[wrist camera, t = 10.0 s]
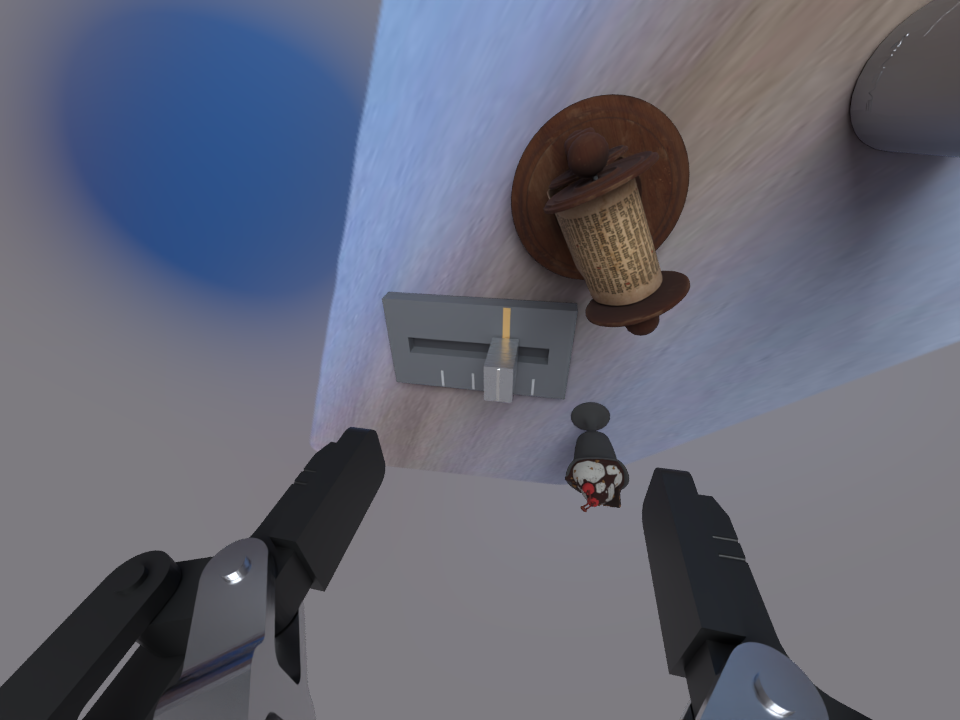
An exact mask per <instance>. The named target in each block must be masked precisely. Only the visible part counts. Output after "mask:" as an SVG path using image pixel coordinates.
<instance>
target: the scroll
mask: <svg viewBox="0 0 960 720" xmlns="http://www.w3.org/2000/svg"><path fill="white" fill-rule="evenodd" d="M688 186H689V162H688V155H687V151H686V148H685V145H684V142H683V140H682V137H681V135H680V133H679V132H678V130H677V128H676V127H675V125H674V124H673V123H672V121H671V120H670V119H669V118H668V117H667V116H666V115H665V114H664V113H663V112H662V111H660V110H659V109H658V108H656V107H655V106H653V105H652V104H650V103H648V102H646V101H644V100H641V99H638V98H635V97H631V96H626V95H614V94H612V95H601V96H595V97H591V98H587V99H584V100H581V101H579V102H577V103H574V104H572V105H570V106H568V107H567V108H565V109H563V110H562V111H560V112H559V113H557V114H556V115H555V116H553V117H552V118H551V119H550V120H548V121H547V122H546V123H545V124H544V125H543V126H542V127H541V128H540V130H539V131H538V132H537V133H536V134H535V135H534V137H533V138H532V140H531V141H530V142H529V144H528V146H527V147H526V149H525V151H524V152H523V155H522V157H521V159H520V161H519V164H518V166H517V169H516V172H515V176H514V180H513V186H512V194H511V207H512V216H513V221H514V225H515V228H516V231H517V233H518V236H519V238H520V240H521V242H522V244H523V245H524V247H525V248H526V250H527V251H528V252H529V254H530V255H531V256H532V257H533V258H534V259H535V260H536V261H537V262H538V263H540V264H541V265H542V266H544V267H545V268H547V269H548V270H550V271H552V272H554V273H556V274H558V275H561V276H564V277H568V278H572V279H580V280H585V281H586V284H587V286H588V289H589V291H590V294H591V296H592V298H593V299H592V300H591V301H590V303H589V304H588V306H587V308H586V317H587V319H588V320H589V321H590V322H591V323H593V324H595V325H599V326H605V327H622V326H625V327H626V328H627V330H628V331H629V332H631V333H633V334H634V335H640V336H641V335H647V334H649V333H651V332H653V331H654V330H655V329H656V328H657V326H658V323H659V315H661V314H663V313H665V312H667V311H668V310H670V309H671V308H673V307H674V306H675V305H677V304H678V303H679V302H680V301H681V300H682V299H683V298H684V297H685V296H686V295H687V293H688V291H689V289H690V281H689V279H688V277H687V276H686V275H684V274H682V273H679V272H675V271H661V270H660V266H659V262H658V259H657V255H656V252H655V251H656V250H657V249H658V248H659V247H660V246H661V244H662V243H663V242H664V241H665V240H666V238H667V237H668V236H669V234H670V233H671V231H672V230H673V228H674V226H675V225H676V223H677V221H678V219H679V217H680V215H681V212H682V210H683V207H684V204H685V201H686V197H687V192H688Z"/></svg>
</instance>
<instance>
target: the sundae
mask: <svg viewBox="0 0 960 720" xmlns="http://www.w3.org/2000/svg"><path fill="white" fill-rule="evenodd" d="M571 419H572V422H573V423H574V425H575V426H577V427H578V428H580V429H582V430H586V431H587V432H585V433H583V434H581V435H580V436H579V437H578V439H577V442H576V446H575V453H574V460H573V461H572V462H571V464H570V465H569V467H568V469H567V472H566V477H565V480H566V481H567V483H568V484H569V485H570V486H571V487H573V488H574V489H575V490H577V491H579V492H580V493H582V494H583V496H584V497H585V499H586V500H587V502H588V503H587V504H586V505H584V506H581V509H582V510H583V511H584V512H586V510H587V509H588V508H590V507H591V506H592V507H596V506H600V505H603V506H610V507H617V508H620V507H621V502H620V500H621V499H620V492H621V490H622V489H624V488H625V487H626V486H627V485H628V482H629V474H628V472H627V469H626V467H625V466H624V465H623V463H622V462H620V461H619V460H617V458H616V455H615V452H614V449H613V447H612V445H611V443H610V440H609V438H608V437H607V436H606V435H605V434H603V433H601V432H598V431H596V430H599V429H602V428H603V427H605V426H606V425H607V423H608V422H609V420H610V413H609V411H608V410H607V409H606V408H605V407H604V406H602V405H601V404H598V403H584V404H581V405H579V406H577V407H576V408H575V409H574V410H573V411H572V414H571ZM588 504H589V505H590V506H589V507H588V508H586V509H585V508H584V507H585V506H587V505H588Z"/></svg>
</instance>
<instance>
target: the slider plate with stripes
mask: <svg viewBox="0 0 960 720" xmlns="http://www.w3.org/2000/svg"><path fill="white" fill-rule="evenodd" d="M382 301H383V307H384V313H385V318H386V324H387V330H388V335H389V341H390V347H391V352H392V358H393V364H394V369H395V375H396V381H397V382H402V383H412V384H421V385H431V386H441V387H450V388H460V389H469V390H479V391H484V364H485V360H486V357H487V354H488V351H489V348H490V344H491V341H492V338H493V337H495V338H508V339H519V347H518V365H517V375H516V381H515V387H514V393H513V394H517V395H527V396H536V397H546V398H555V399H565V393H566V386H567V380H568V373H569V366H570V360H571V353H572V346H573V340H574V333H575V326H576V320H577V313H578V309H577V303H561V302H545V301H528V300H512V299H496V298H480V297H464V296H448V295H432V294H416V293H400V292H388V293H387V294H386V295H385V296H384V297H383V298H382Z"/></svg>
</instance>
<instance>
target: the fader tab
mask: <svg viewBox="0 0 960 720" xmlns="http://www.w3.org/2000/svg"><path fill="white" fill-rule="evenodd" d="M518 347H519V339H508V338H495V337H493V338H492V341H491V344H490V348H489V351H488V354H487V357H486V360H485V364H484V400H487V401H496V402H506V403H512V399H513V393H514V387H515V381H516V375H517V365H518Z"/></svg>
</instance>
